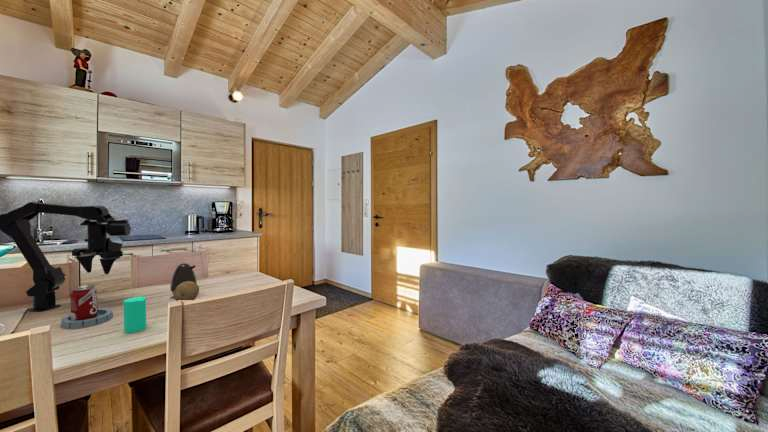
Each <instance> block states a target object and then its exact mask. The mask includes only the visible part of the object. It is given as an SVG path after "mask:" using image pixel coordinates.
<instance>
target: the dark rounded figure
mask: <svg viewBox="0 0 768 432" xmlns="http://www.w3.org/2000/svg"><path fill="white" fill-rule="evenodd" d="M196 267H197V266H196V265H192V266H191V264H189V263H183V262H182V263H180V264H179V265H177V266H176V268H175V270H174V272H173V275H172V277H171V282H170V292H171V293H172V295H173V294H174V291H175V289H176V287H177V286H178V285H179V284H181V283H183V282H186V281H192V282H195V283H196V284H197V285H198V283H197V282H198V281H197V277H196V274H195V272H194V271H195V270H193V269H195V268H196Z"/></svg>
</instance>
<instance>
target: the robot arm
mask: <svg viewBox="0 0 768 432" xmlns="http://www.w3.org/2000/svg"><path fill="white" fill-rule="evenodd" d="M39 214H52V215H61V216H62V215H64V216H74V217H78V218H81V219H84V221H82V222H81V223H80V224H79V226H86V227H87V229H86V230H87V234H86V235H87V238H84V242H85V243H87V246H86V247H79V248H78V247H77V248H74V249H73V250H72V251H71V257H74V259H76V260H77V261H78V262H79V263H80V265H81V266H82V267H83V269H84V270H85V272H86V273H88V274H89V273H91V272H92V270H93V269H92V268H93V260H94V258H95V257H96V256H99V257H100V258H99V262H100V264H101V267H102V270H103V272H104V275H109V274H110V272H111V269H112V267H113V265H114V263H115V261H117V260H119V259H120V258H121V257H123V256H124V254H123V250H122V247H123V243H120V242H116V241H113V240H111V238H110V237H108V235H109V236H111V237H123V236H124V237H125V236H126V237H127V236H129V235H130V234H131V231H132V229H131V228H132V227H131V225H130V223H129V220H128V219H115V218H114V217H113V216H112V214H111V213H109V210H108V208H107V207H106V206H104V205H85V206H81V205H80V206H78V205H77V206H76V205H67V204H56V203H47V202H46V203H45V202H40V201H30V202H27V203H26V204H24V205H22V206H20V207H17V208H15V209H12V210H11V211H8V212H7V213H2V214H0V231H1V233H3V234H5V235H7V236H8V237H10V238H12V240H13V242H14V243H15V245H16V246H17V248H18V250H19V252H20V253H21V254H22V256H23V258H24V259H25V261H26V262H27V264H28V265H29V267H30V269H31V270H32V281H33V284H34V285H32V286H31V287H30V288H28V289H27V290H26V292H25V293H26V296H27V297H31V298H32V307H29V308H27V311H33V312H43V311H48V310H51V309H54V308H58V307H61V304H57V301H56V300H57V298H56V291H58V290H59V289H60V287H61V286H63V284H64V283H65V281H66V277H65V276H66V274H65V273H64V272H63V270H62V268H61V267H60V266H59V267H54V266H53V265H51V264H50V262H49V261H48V259H47V257H46V256H45V254H44V253H43V251H42V249H41V248H40V246H39V245H38V243H37V242H36V240H35V238H34V237H33V235H32V233H31V229H32V228H31V227H32V224H31V222H30V221H31V220H33V219H34V218H36V217H37V216H38V215H39Z"/></svg>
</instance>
